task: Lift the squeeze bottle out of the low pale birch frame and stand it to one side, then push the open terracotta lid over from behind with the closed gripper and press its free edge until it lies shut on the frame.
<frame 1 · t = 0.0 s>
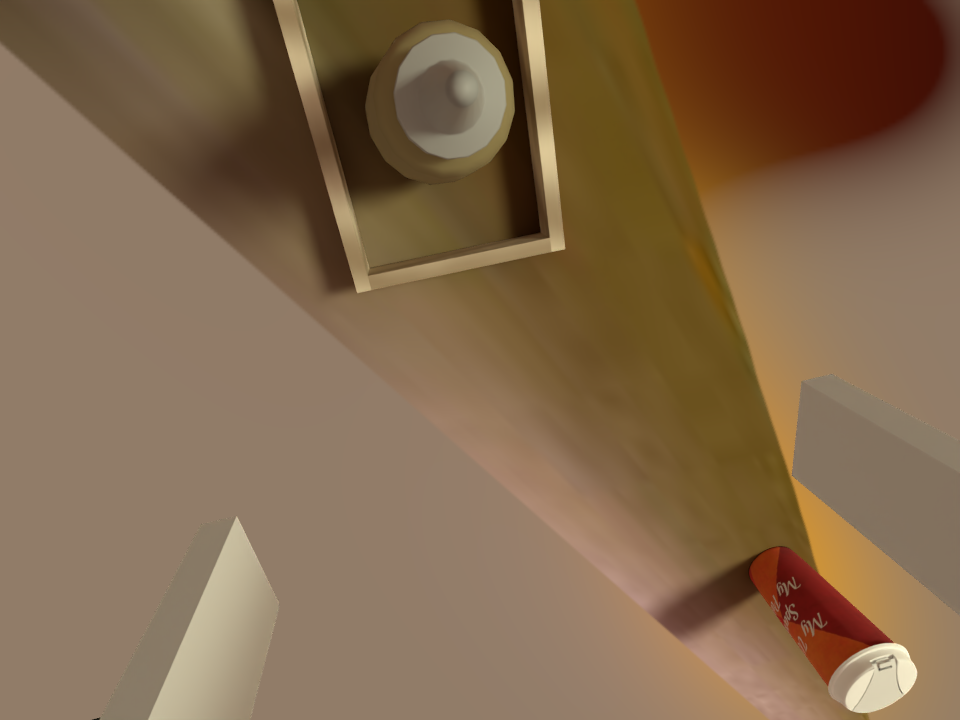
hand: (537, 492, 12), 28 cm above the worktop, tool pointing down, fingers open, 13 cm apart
frame: (430, 117, 33), on the worktop
paper cup: (770, 564, 56), on the worktop
squeeze bottle: (429, 117, 34), resting in frame
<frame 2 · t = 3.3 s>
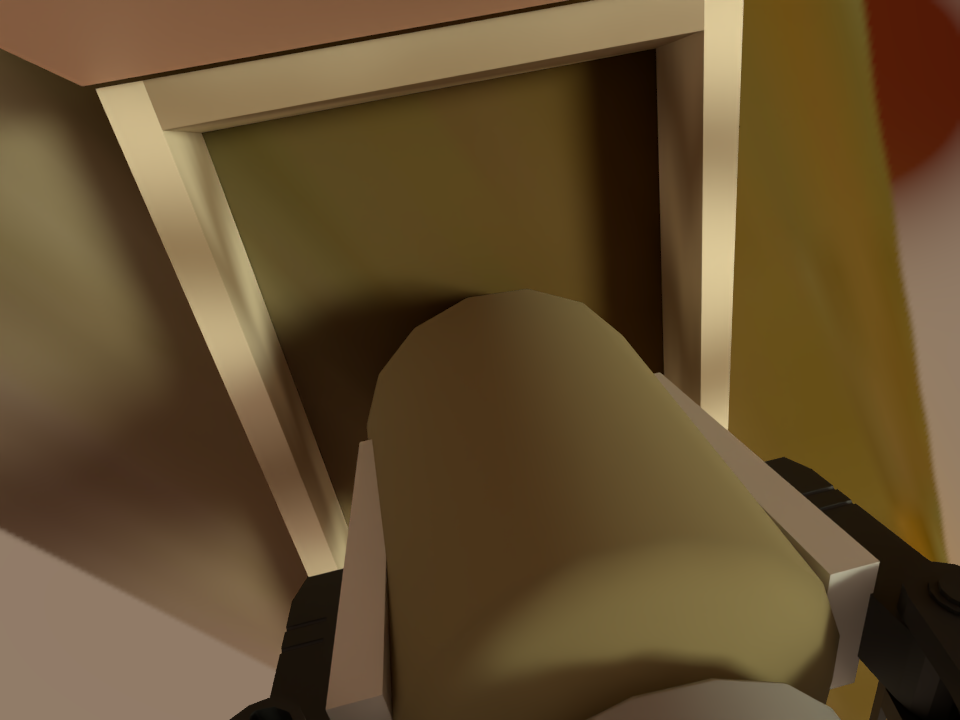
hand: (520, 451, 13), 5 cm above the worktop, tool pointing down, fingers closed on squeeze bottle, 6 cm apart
frame: (488, 373, 18), on the worktop
squeeze bottle: (488, 371, 18), resting in frame, touching gripper
when the fingers open (6 cm above the worktop, at t = 12.3 s): squeeze bottle drops 1 cm, on the worktop.
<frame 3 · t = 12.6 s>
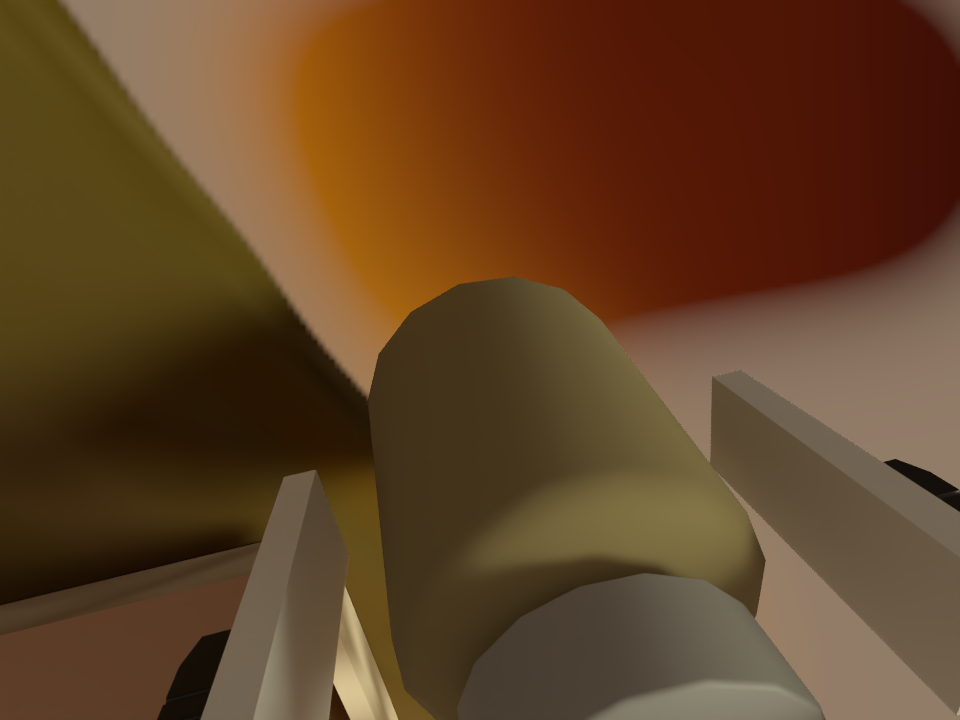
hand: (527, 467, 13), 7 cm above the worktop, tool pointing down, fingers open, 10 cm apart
frame: (231, 718, 25), on the worktop
squeeze bottle: (480, 355, 19), on the worktop
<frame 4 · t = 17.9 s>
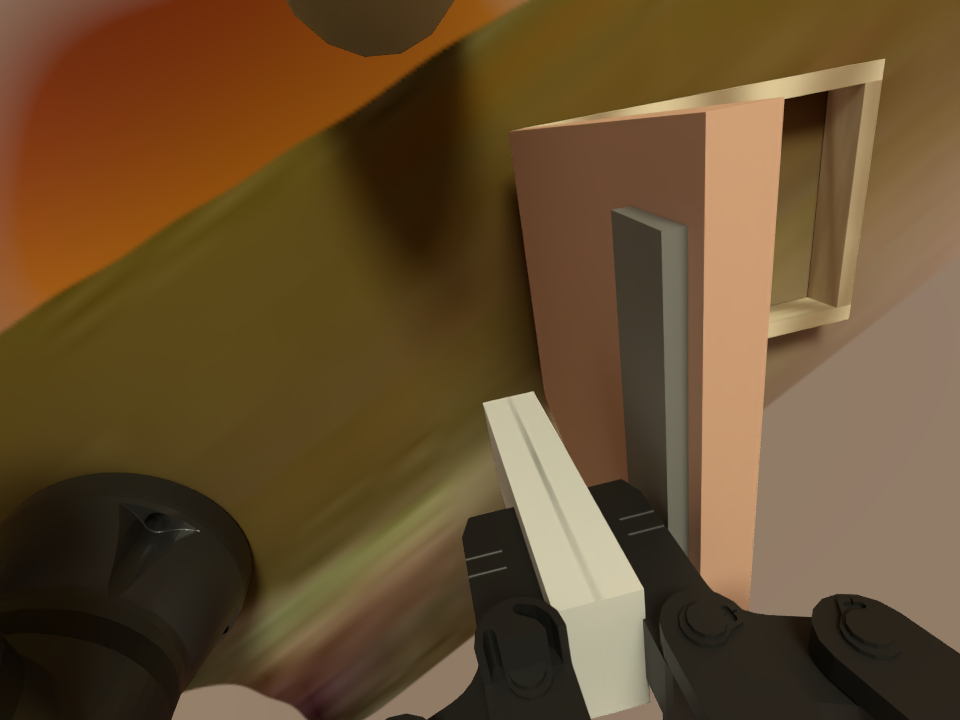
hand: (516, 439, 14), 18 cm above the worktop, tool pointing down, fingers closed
lid: (579, 345, 19), point 13 cm above the worktop, hinge at 95.7°, touching gripper
frame: (685, 229, 31), on the worktop
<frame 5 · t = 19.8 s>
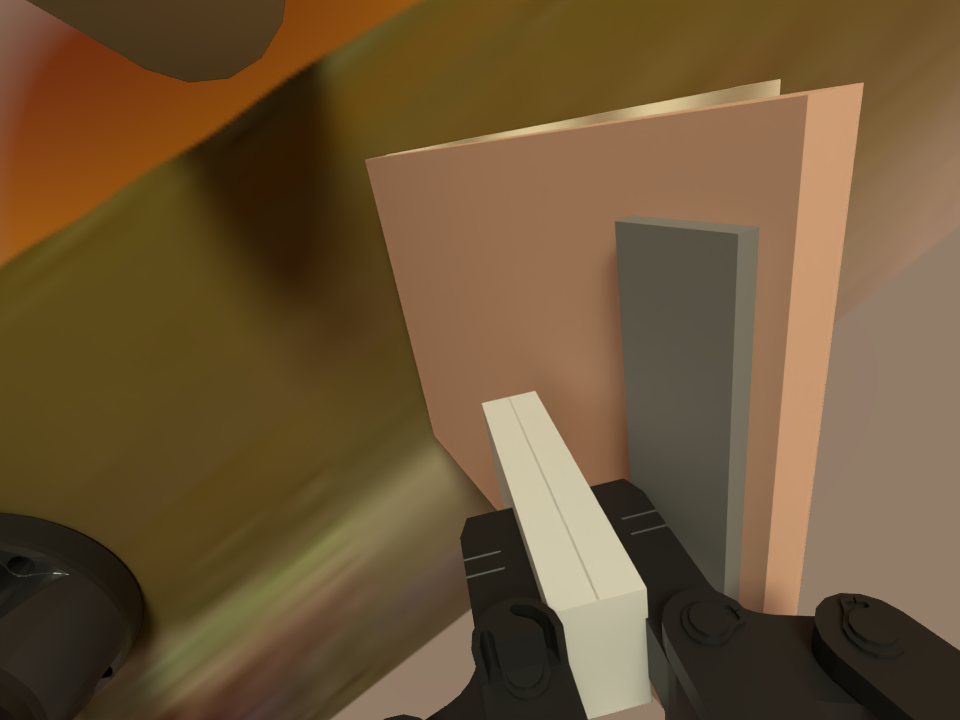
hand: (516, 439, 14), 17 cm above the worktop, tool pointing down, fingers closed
lid: (502, 377, 17), point 13 cm above the worktop, hinge at 72.9°, touching gripper
frame: (584, 257, 30), on the worktop
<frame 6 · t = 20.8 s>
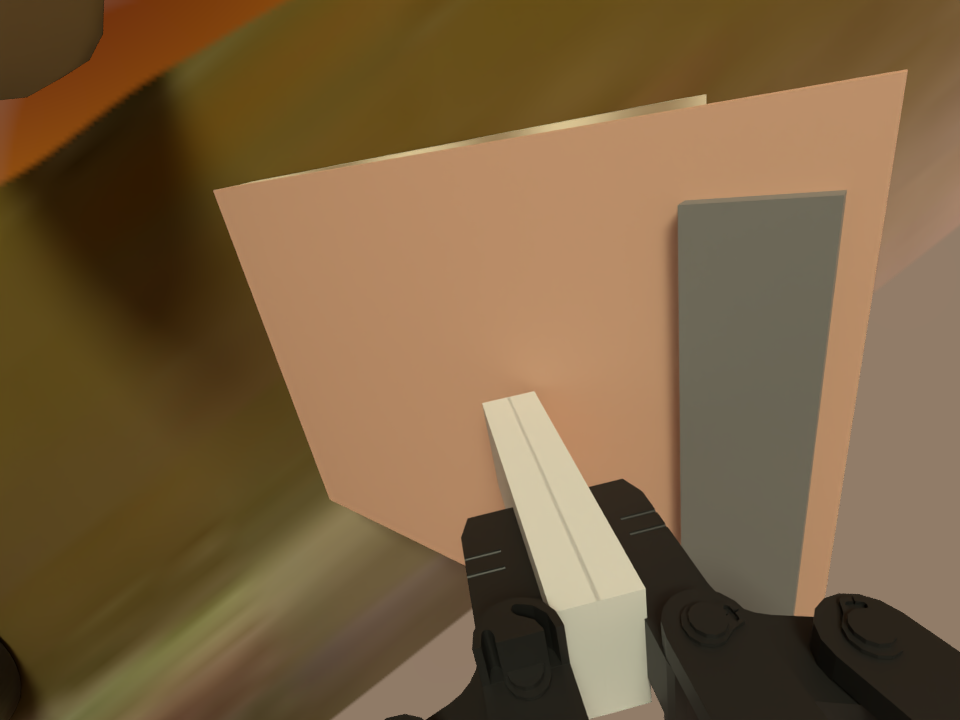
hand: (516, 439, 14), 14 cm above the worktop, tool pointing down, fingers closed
lid: (457, 404, 16), point 11 cm above the worktop, hinge at 46.6°, touching gripper
frame: (498, 292, 26), on the worktop
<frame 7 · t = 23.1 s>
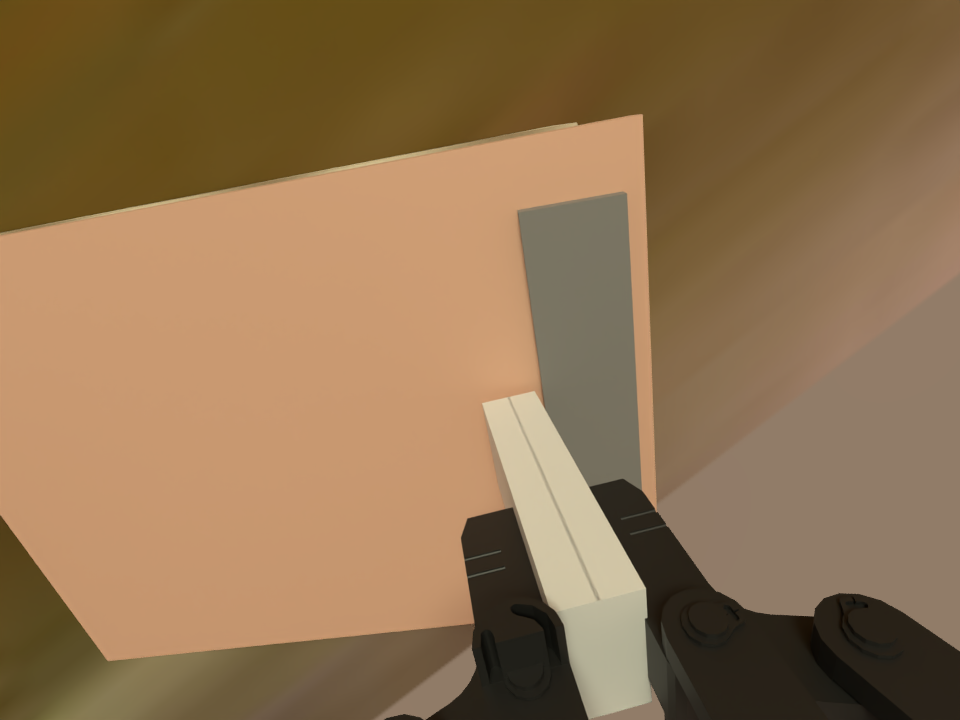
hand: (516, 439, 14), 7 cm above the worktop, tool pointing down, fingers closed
lid: (305, 456, 15), point 5 cm above the worktop, hinge at 10.2°
frame: (332, 377, 20), on the worktop
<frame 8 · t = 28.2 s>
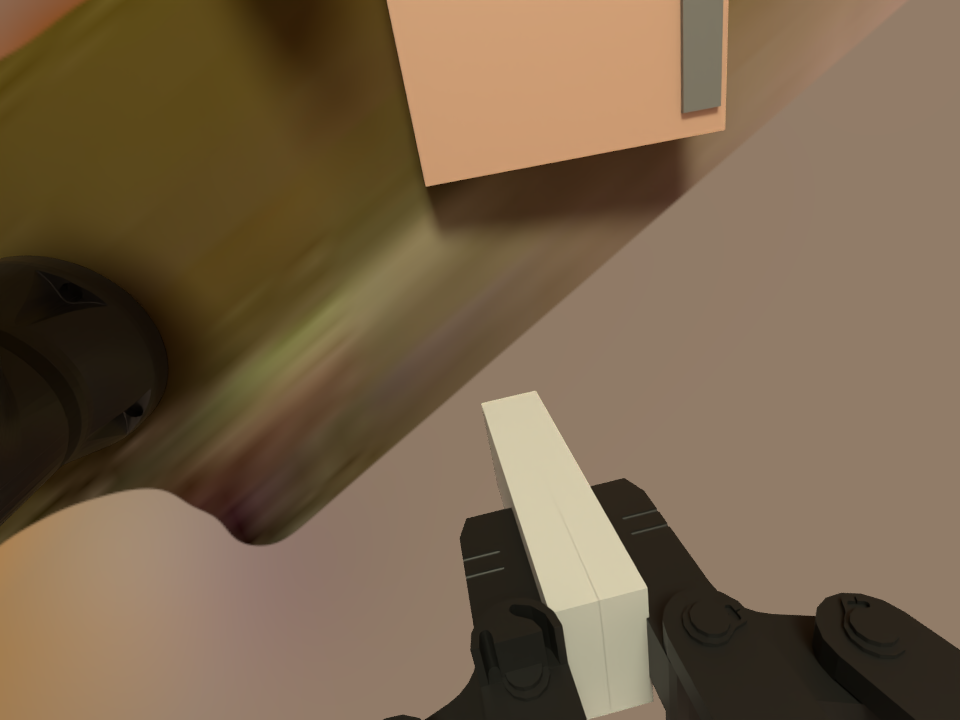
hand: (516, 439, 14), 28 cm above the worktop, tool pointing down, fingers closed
lid: (561, 28, 31), point 5 cm above the worktop, hinge at 6.6°
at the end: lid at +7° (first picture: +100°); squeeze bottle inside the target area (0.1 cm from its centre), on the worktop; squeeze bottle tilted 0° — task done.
